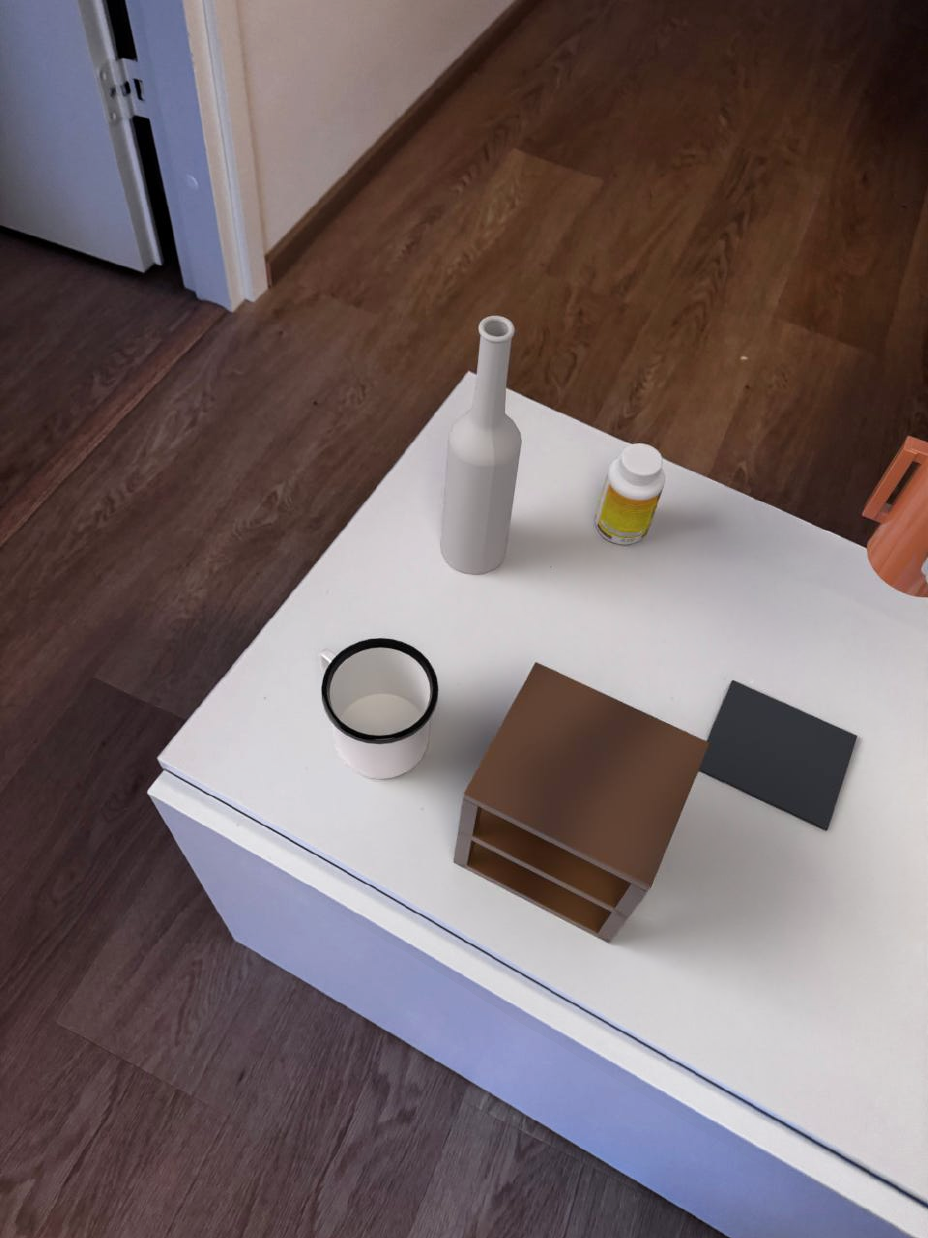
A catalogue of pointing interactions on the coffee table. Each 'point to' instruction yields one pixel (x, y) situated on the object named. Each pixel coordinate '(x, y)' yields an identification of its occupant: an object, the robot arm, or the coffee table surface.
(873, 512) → the orange two-handled pot
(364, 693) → the mug
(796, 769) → the mat
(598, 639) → the coffee table surface
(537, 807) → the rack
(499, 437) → the bottle
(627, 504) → the supplement bottle
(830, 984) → the coffee table surface
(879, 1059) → the coffee table surface
